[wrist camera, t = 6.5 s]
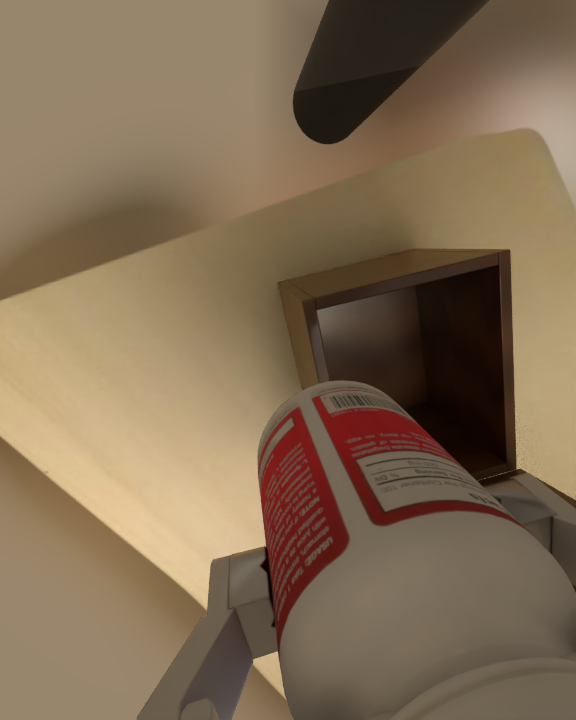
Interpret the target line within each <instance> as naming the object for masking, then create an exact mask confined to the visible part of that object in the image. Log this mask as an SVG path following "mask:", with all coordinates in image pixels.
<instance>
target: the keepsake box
mask: <svg viewBox="0 0 576 720" xmlns="http://www.w3.org/2000/svg"><path fill="white" fill-rule="evenodd" d="M278 286H279V291H280V295H281V299H282V304H283V308H284V313H285V317H286V321H287V326H288V330H289V335H290V339H291V343H292V348H293V352H294V356H295V361H296V365H297V370H298V374H299V378H300V383H301V387H302V390H304V389H307V388H309V387H311V386H314V385H317V384H320V383H324V382H330V381H355V382H360V383H364V384H367V385H370V386H372V387H374V388H376V389H378V390H380V391H382V392H383V393H385V394H386V395H388V396H389V397H390V398H391V399H392V400H394V401H395V402H396V403H397V404H398V405H399V406H400V407H401V408H402V409H404V410H405V411H406V412H407V413H408V414H409V415H410V416H411V417H412V418H413V419H414V420H415V421H416V422H417V423H418V424H419V425H420V426H421V427H422V428H423V429H424V430H425V431H426V432H427V433H428V434H429V435H430V436H431V437H432V438H433V439H434V440H435V441H436V442H437V443H438V444H440V445H441V446H442V447H443V448H444V449H445V450H446V451H447V452H448V453H449V454H450V456H452V457H453V458H454V459H455V460H456V461H457V462H458V463H459V464H460V465H461V466H462V467H463V468H464V469H465V470H466V471H467V472H468V473H469V474H470V475H471V476H472V477H473V478H474V479H475V480H476V481H478V480H481V479H485V478H488V477H491V476H495V475H498V474H502V473H505V472H509V471H512V470H516V436H515V400H514V365H513V329H512V293H511V258H510V250H509V249H412V250H408V251H404V252H400V253H395V254H391V255H387V256H383V257H379V258H375V259H371V260H367V261H363V262H358V263H354V264H350V265H346V266H342V267H338V268H334V269H330V270H326V271H321V272H317V273H313V274H309V275H305V276H301V277H297V278H293V279H288V280H284V281H280V282H278Z"/></svg>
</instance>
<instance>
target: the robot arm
mask: <svg viewBox="0 0 576 720" xmlns="http://www.w3.org/2000/svg"><path fill="white" fill-rule="evenodd" d="M482 487H483V488H484V489H485V490H487V491H488V492H489V493H490V494H491V495H492V496H493V497H494V498H495V499H496V500H497V501H498V502H499V503H500V504H501V505H502V506H503V507H504V508H505V509H506V510H507V511H508V512H509V513H510V514H511V515H512V516H513V517H514V518H516V519H517V520H518V521H519V522H520V523H521V524H522V525H523V526H524V527H525V528H526V529H527V530H528V531H529V532H530V533H531V534H532V535H533V536H534V537H535V538H536V539H537V540H538V541H539V542H540V543H541V544H542V545H543V546H544V547H545V549H546V550H547V551H548V552H549V553H550V554H551V555H552V556H553V557H554V558H555V560H556V561H557V562H558V563H559V565H560V566H561V567H562V569H563V570H564V572H565V573H566V575H567V577H568V578H569V580H570V582H571V584H573V585H574V586H576V509H575V508H574V507H573V506H572V505H570V504H569V503H568V502H566V501H565V500H564V499H562V498H561V497H560V496H559V495H557V494H556V493H555V492H553V491H552V490H551V489H550V488H548V487H547V486H546V485H544V484H543V483H542V482H540V481H539V480H538V479H537V478H535V477H534V476H533V475H531V474H529V473H523V474H520V475H517V476H513V477H510V478H507V479H503V480H500V481H496V482H493V483H489V484H486V485H482ZM276 651H278V646H277V636H276V628H275V619H274V609H273V600H272V591H271V582H270V575H269V563H268V555H267V548H266V547H265V546H264V547H260V548H256V549H252V550H248V551H244V552H240V553H236V554H232V555H230V556H226V557H222V558H218V559H213V561H212V563H211V568H210V581H209V594H208V607H207V616H204V617H201V618H200V620H199V622H198V623H197V625H196V626H195V628H194V629H193V631H192V632H191V634H190V636H189V637H188V639H187V640H186V642H185V643H184V645H183V647H182V648H181V650H180V651H179V653H178V654H177V656H176V657H175V659H174V660H173V662H172V664H171V665H170V667H169V668H168V670H167V671H166V673H165V675H164V676H163V678H162V679H161V681H160V682H159V684H158V686H157V687H156V688H155V690H154V692H153V693H152V695H151V696H150V698H149V699H148V701H147V702H146V704H145V706H144V707H143V709H142V710H141V712H140V714H139V715H138V717H137V720H231V719H232V716H233V714H234V711H235V708H236V706H237V703H238V701H239V698H240V695H241V693H242V690H243V687H244V685H245V682H246V680H247V677H248V675H249V672H250V669H251V667H252V664H253V659H255V658H258V657H261V656H264V655H267V654H270V653H273V652H276ZM558 658H560V659H567V660H570V661H573V662H576V652H573V653H570V654H567V655H564V656H561V657H558ZM396 713H397V711H385V712H382V713H379V714H376V715H373V716H369V717H366V718H363V719H360V720H390V719H391V718H392V717H393V716H394V715H395V714H396Z"/></svg>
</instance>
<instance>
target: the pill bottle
mask: <svg viewBox="0 0 576 720" xmlns="http://www.w3.org/2000/svg"><path fill="white" fill-rule="evenodd" d="M258 478H259V487H260V495H261V504H262V513H263V522H264V530H265V538H266V548H267V555H268V563H269V575H270V582H271V591H272V600H273V609H274V619H275V628H276V636H277V646H278V655H279V662H280V668H281V674H282V681H283V687H284V692H285V696H286V699H287V702H288V705H289V708H290V711H291V714H292V716H293V718H294V720H360V719H363V718H366V717H369V716H373V715H376V714H379V713H382V712H385V711H397V713H396V714H395V715H394V716H393V717H392V718H391V719H390V720H576V662H573V661H570V660H567V659H560V658H558V657H561V656H564V655H567V654H570V653H573V652H576V592H575V590H574V588H573V586H572V584H571V582H570V580H569V578H568V577H567V575H566V573H565V572H564V570H563V569H562V567H561V566H560V565H559V563H558V562H557V561H556V560H555V558H554V557H553V556H552V555H551V554H550V553H549V552H548V551H547V550H546V549H545V547H544V546H543V545H542V544H541V543H540V542H539V541H538V540H537V539H536V538H535V537H534V536H533V535H532V534H531V533H530V532H529V531H528V530H527V529H526V528H525V527H524V526H523V525H522V524H521V523H520V522H519V521H518V520H517V519H516V518H514V517H513V516H512V515H511V514H510V513H509V512H508V511H507V510H506V509H505V508H504V507H503V506H502V505H501V504H500V503H499V502H498V501H497V500H496V499H495V498H494V497H493V496H492V495H491V494H490V493H489V492H488V491H487V490H485V489H484V488H483V487H482V486H481V485H480V483H478V482H477V481H476V480H475V479H474V478H473V477H472V476H471V475H470V474H469V473H468V472H467V471H466V470H465V469H464V468H463V467H462V466H461V465H460V464H459V463H458V462H457V461H456V460H455V459H454V458H453V457H452V456H450V454H449V453H448V452H447V451H446V450H445V449H444V448H443V447H442V446H441V445H440V444H438V443H437V442H436V441H435V440H434V439H433V438H432V437H431V436H430V435H429V434H428V433H427V432H426V431H425V430H424V429H423V428H422V427H421V426H420V425H419V424H418V423H417V422H416V421H415V420H414V419H413V418H412V417H411V416H410V415H409V414H408V413H407V412H406V411H405V410H404V409H402V408H401V407H400V406H399V405H398V404H397V403H396V402H395V401H394V400H392V399H391V398H390V397H389V396H388V395H386V394H385V393H383V392H382V391H380V390H378V389H376V388H374V387H372V386H370V385H367V384H364V383H360V382H355V381H330V382H324V383H320V384H317V385H314V386H311V387H309V388H307V389H304V390H302V391H300V392H299V393H297V394H295V395H294V396H292V397H291V398H289V399H288V400H287V401H286V402H284V403H283V404H282V405H281V406H280V407H279V408H278V410H277V411H276V412H275V413H274V414H273V416H272V417H271V418H270V420H269V421H268V423H267V425H266V427H265V429H264V431H263V433H262V436H261V439H260V443H259V449H258Z"/></svg>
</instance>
